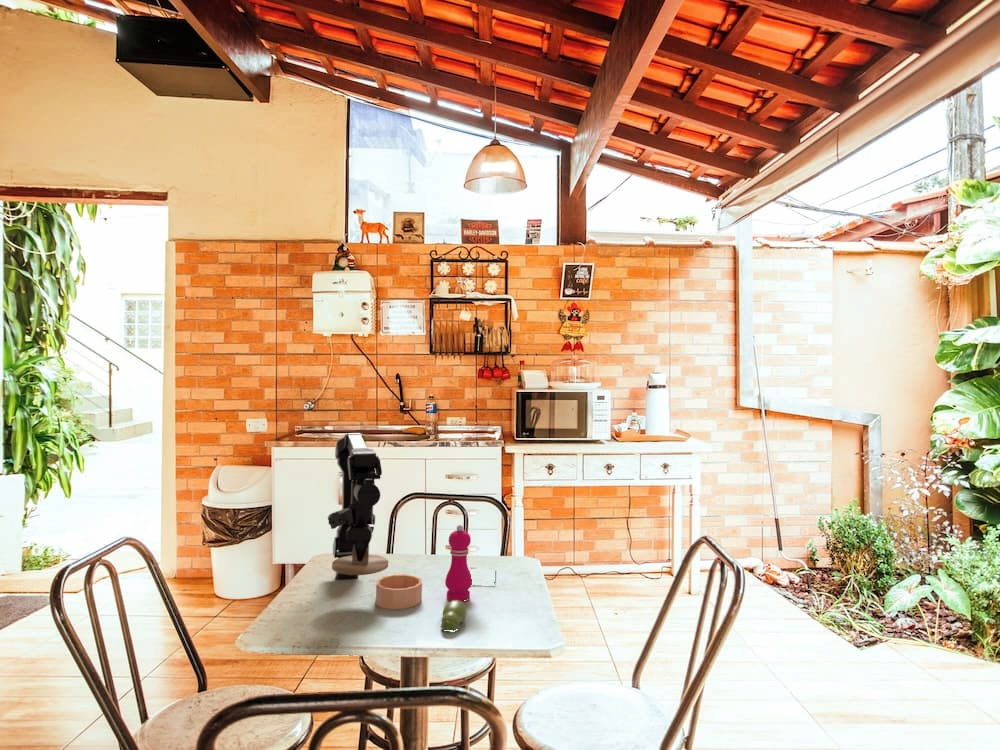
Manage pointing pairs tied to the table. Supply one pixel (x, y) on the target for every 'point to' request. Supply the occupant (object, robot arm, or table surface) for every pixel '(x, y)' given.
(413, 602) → the terracotta bowl
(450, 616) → the pear
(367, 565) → the walnut lid
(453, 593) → the pepper mill
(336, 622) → the table surface
